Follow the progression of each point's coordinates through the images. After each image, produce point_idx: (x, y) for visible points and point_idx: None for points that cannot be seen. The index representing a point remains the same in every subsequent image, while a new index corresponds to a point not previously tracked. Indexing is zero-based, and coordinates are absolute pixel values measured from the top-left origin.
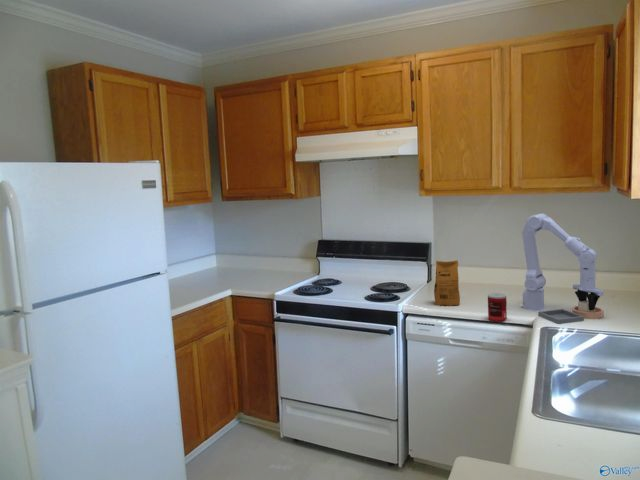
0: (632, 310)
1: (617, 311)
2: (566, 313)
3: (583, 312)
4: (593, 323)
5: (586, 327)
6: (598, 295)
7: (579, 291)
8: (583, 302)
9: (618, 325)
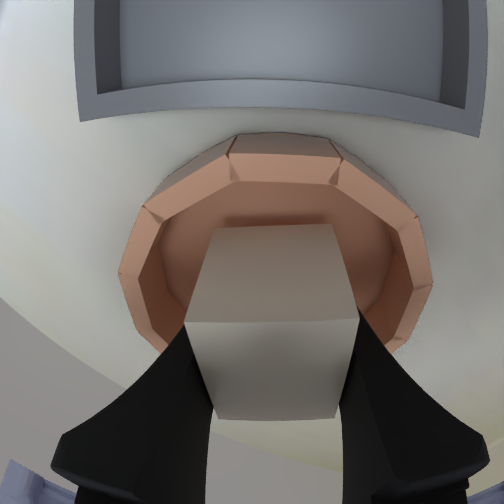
0: (266, 448)
1: (283, 423)
2: (380, 88)
3: (165, 189)
4: (69, 166)
5: (6, 60)
6: (20, 465)
7: (421, 497)
8: (268, 345)
9: (31, 277)
